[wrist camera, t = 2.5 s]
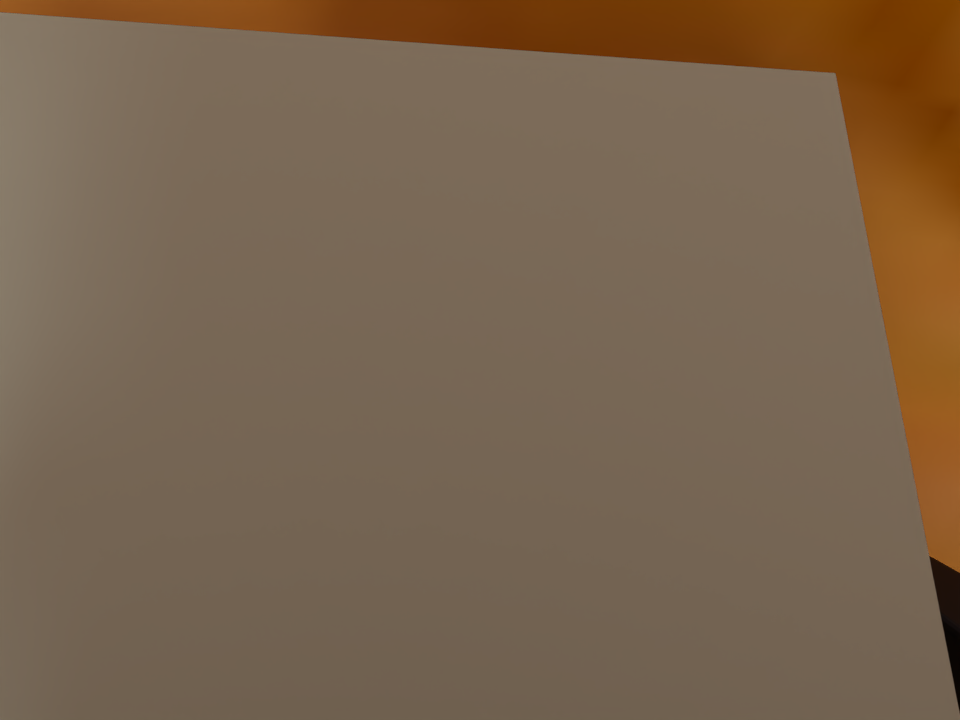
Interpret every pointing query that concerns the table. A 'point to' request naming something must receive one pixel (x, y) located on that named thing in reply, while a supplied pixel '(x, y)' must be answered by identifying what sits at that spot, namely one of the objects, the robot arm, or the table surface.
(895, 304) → the table surface
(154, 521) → the sage pillar
